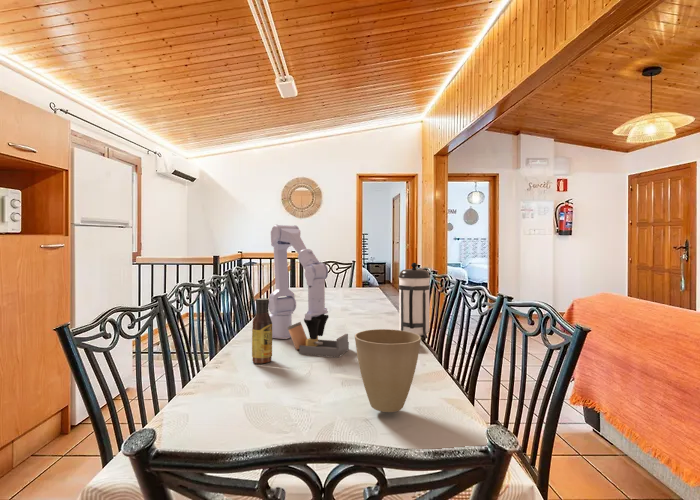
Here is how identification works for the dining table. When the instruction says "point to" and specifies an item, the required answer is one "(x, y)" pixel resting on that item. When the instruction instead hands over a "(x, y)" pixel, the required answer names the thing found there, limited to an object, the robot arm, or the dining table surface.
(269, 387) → the dining table surface
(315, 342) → the tan pusher block
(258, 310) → the sauce bottle
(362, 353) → the plant pot
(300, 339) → the jar
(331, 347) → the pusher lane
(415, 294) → the coffee press
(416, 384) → the dining table surface
